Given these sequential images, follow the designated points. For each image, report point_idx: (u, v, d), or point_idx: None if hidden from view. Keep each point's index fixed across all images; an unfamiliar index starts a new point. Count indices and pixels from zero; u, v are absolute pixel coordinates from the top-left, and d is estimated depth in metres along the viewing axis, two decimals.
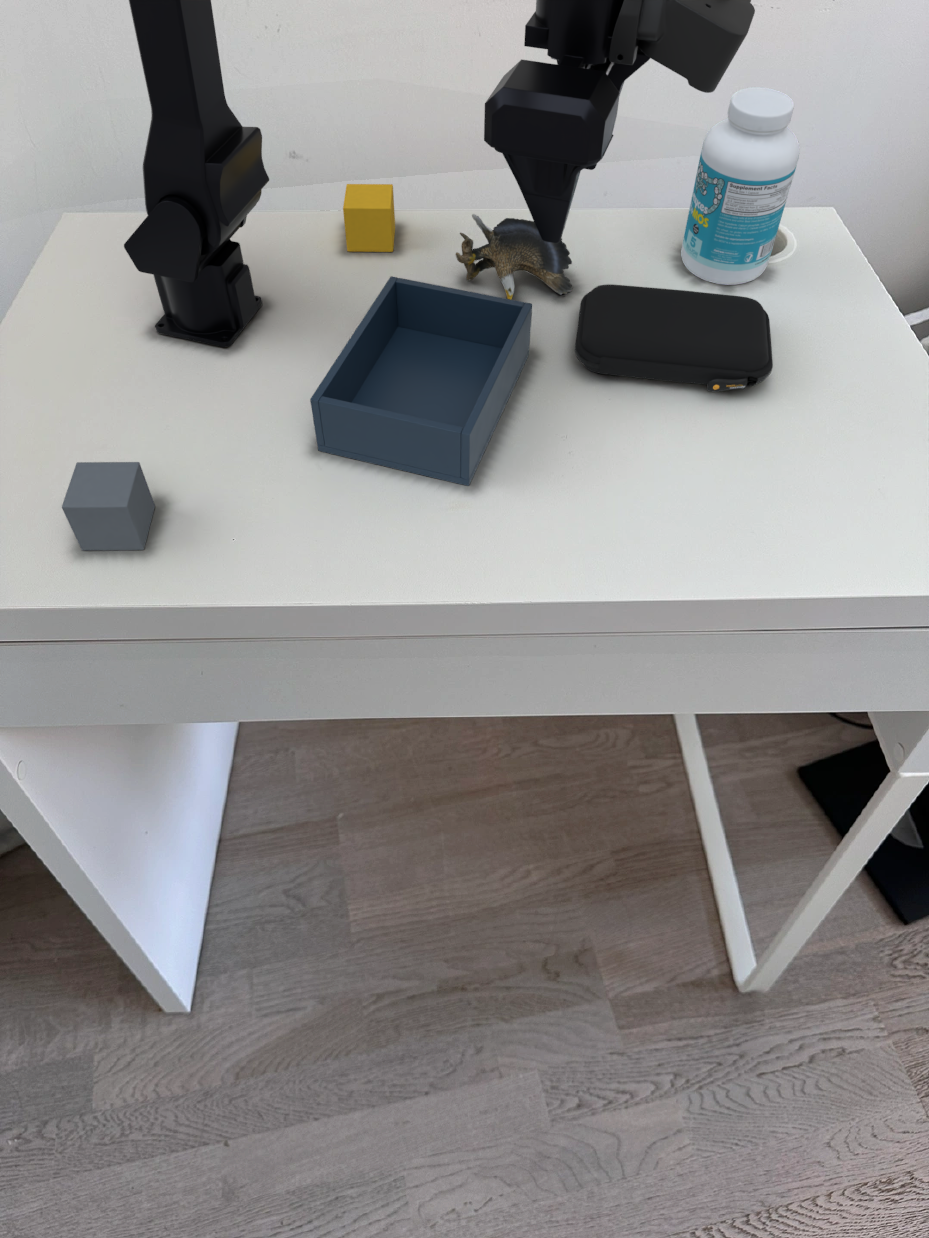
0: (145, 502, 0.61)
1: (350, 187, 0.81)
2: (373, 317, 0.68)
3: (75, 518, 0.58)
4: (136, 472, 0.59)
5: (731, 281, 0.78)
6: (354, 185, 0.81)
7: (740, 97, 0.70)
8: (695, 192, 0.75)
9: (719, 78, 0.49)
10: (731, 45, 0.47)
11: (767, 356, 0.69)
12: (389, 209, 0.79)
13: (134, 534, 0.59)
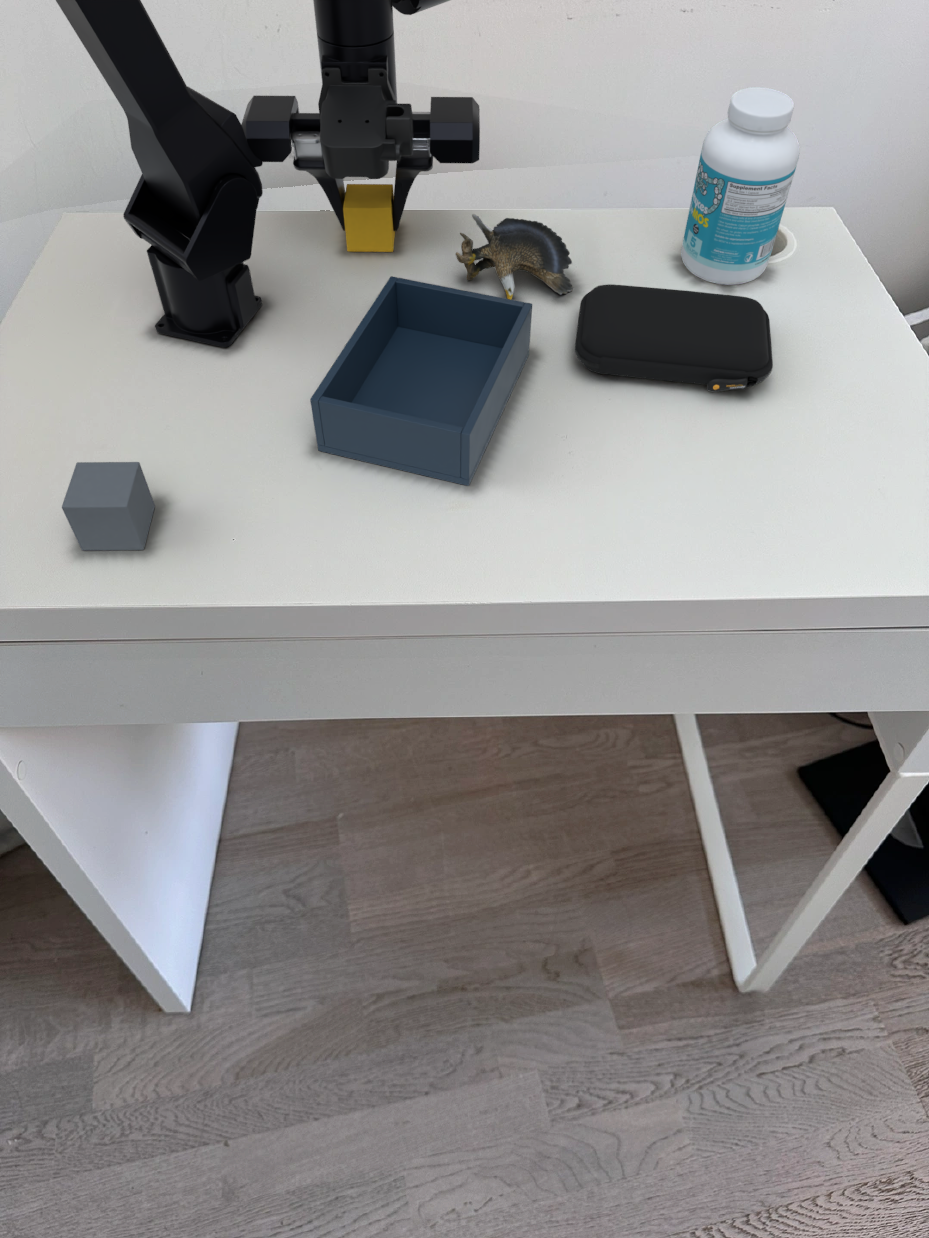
0: (145, 502, 0.61)
1: (350, 187, 0.81)
2: (373, 317, 0.68)
3: (75, 518, 0.58)
4: (136, 472, 0.59)
5: (731, 281, 0.78)
6: (354, 185, 0.81)
7: (740, 97, 0.70)
8: (695, 192, 0.75)
9: (330, 170, 0.70)
10: (322, 148, 0.69)
11: (767, 356, 0.69)
12: (389, 209, 0.79)
13: (134, 534, 0.59)
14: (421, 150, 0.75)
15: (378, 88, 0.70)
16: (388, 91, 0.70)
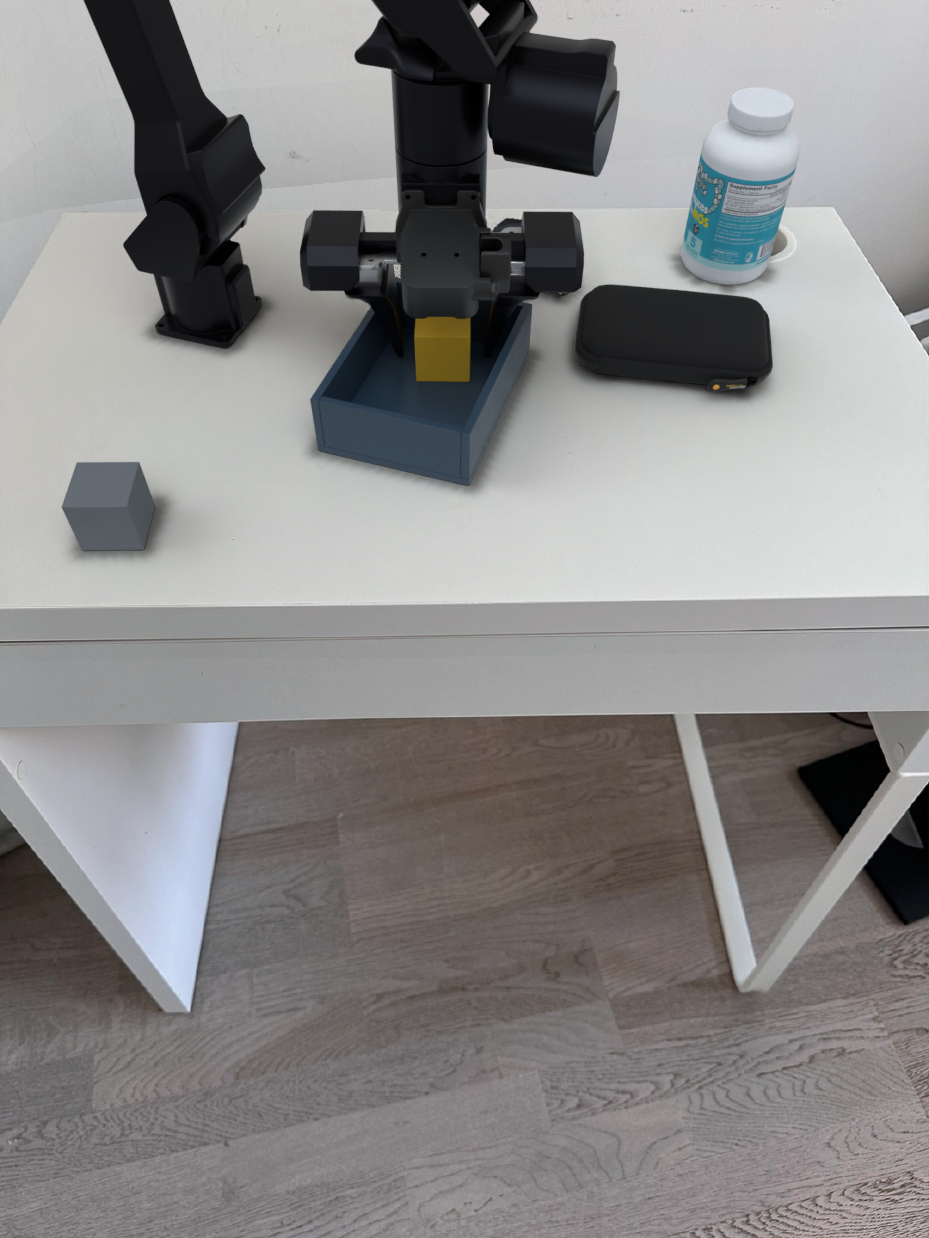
0: (145, 502, 0.61)
1: None
2: (373, 317, 0.68)
3: (75, 518, 0.58)
4: (136, 472, 0.59)
5: (731, 281, 0.78)
6: None
7: (740, 97, 0.70)
8: (695, 192, 0.75)
9: (411, 309, 0.58)
10: (403, 287, 0.57)
11: (767, 356, 0.69)
12: (469, 338, 0.67)
13: (134, 534, 0.59)
14: None
15: (468, 213, 0.58)
16: (480, 215, 0.58)
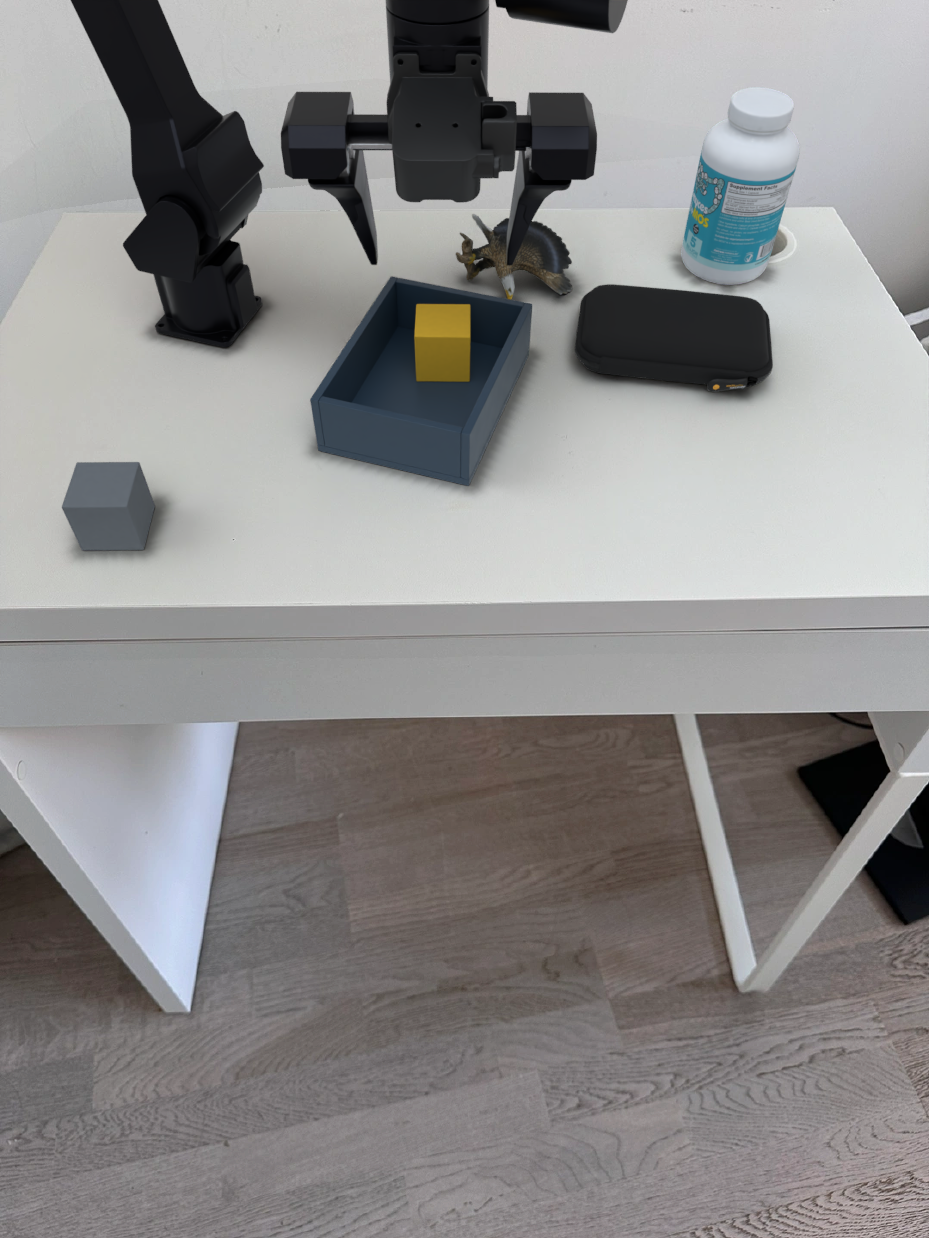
0: (145, 502, 0.61)
1: (421, 308, 0.69)
2: (373, 317, 0.68)
3: (75, 518, 0.58)
4: (136, 472, 0.59)
5: (731, 281, 0.78)
6: (425, 305, 0.69)
7: (740, 97, 0.70)
8: (695, 192, 0.75)
9: (404, 190, 0.52)
10: (395, 161, 0.51)
11: (767, 356, 0.69)
12: (469, 338, 0.67)
13: (134, 534, 0.59)
14: None
15: (468, 81, 0.52)
16: (481, 84, 0.52)
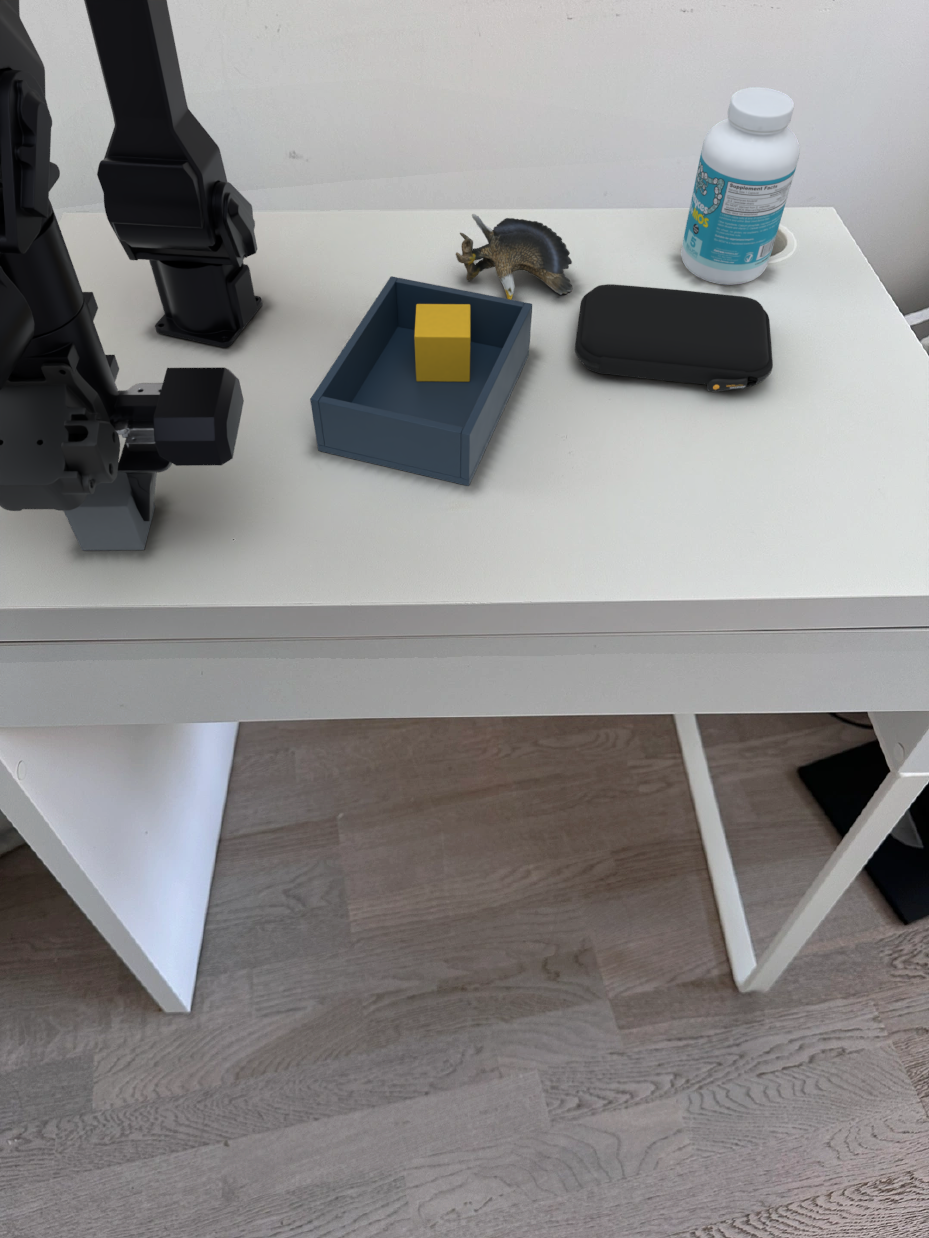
0: None
1: (421, 308, 0.69)
2: (373, 317, 0.68)
3: (75, 518, 0.58)
4: None
5: (731, 281, 0.78)
6: (425, 305, 0.69)
7: (740, 97, 0.70)
8: (695, 192, 0.75)
9: None
10: None
11: (767, 356, 0.69)
12: (469, 338, 0.67)
13: (134, 534, 0.59)
14: (153, 443, 0.54)
15: (60, 389, 0.48)
16: (78, 390, 0.49)
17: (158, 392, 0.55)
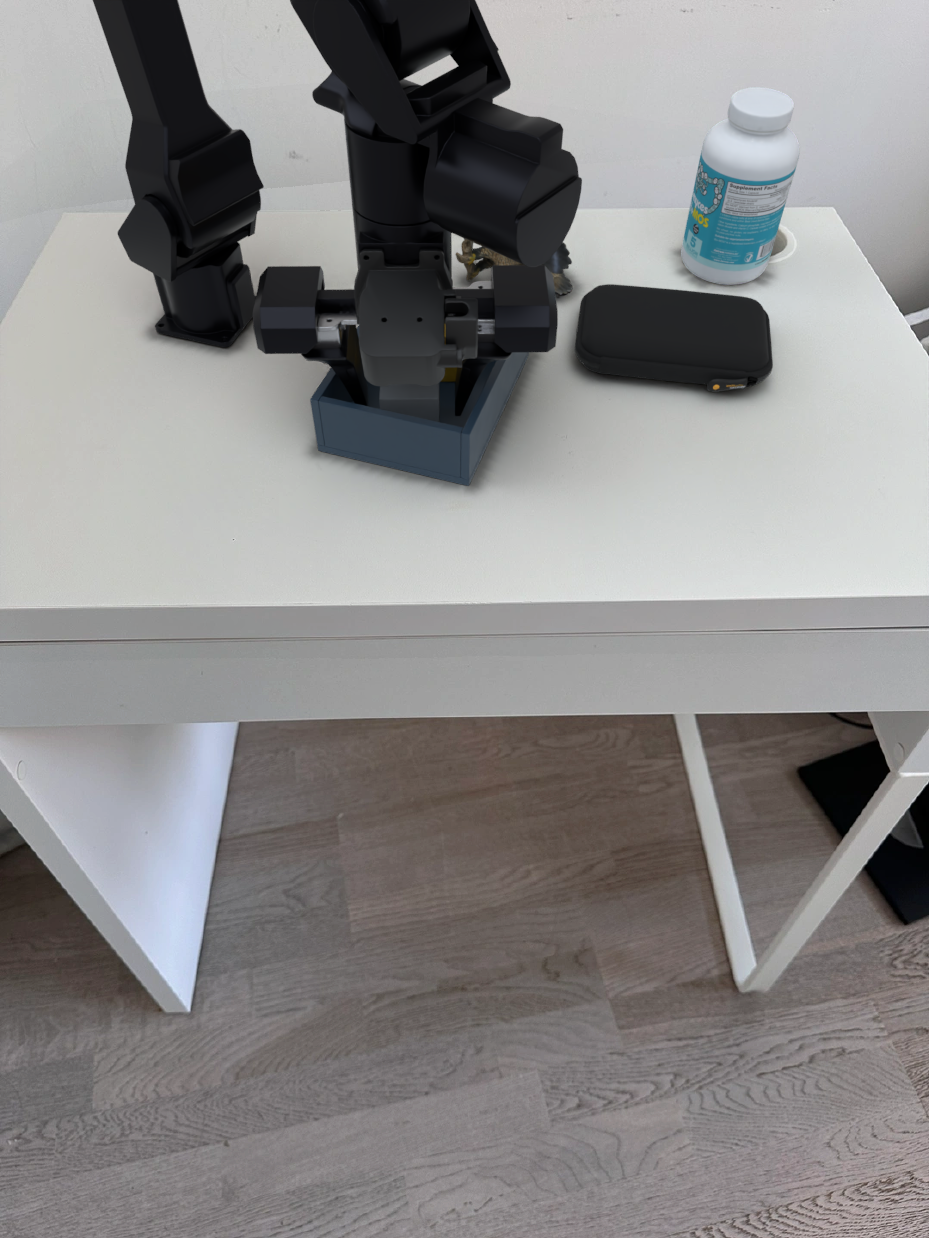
0: (439, 400, 0.66)
1: None
2: None
3: (388, 410, 0.63)
4: None
5: (731, 281, 0.78)
6: None
7: (740, 97, 0.70)
8: (695, 192, 0.75)
9: (372, 377, 0.54)
10: (362, 355, 0.53)
11: (767, 356, 0.69)
12: None
13: None
14: None
15: (431, 273, 0.54)
16: (444, 275, 0.54)
17: None
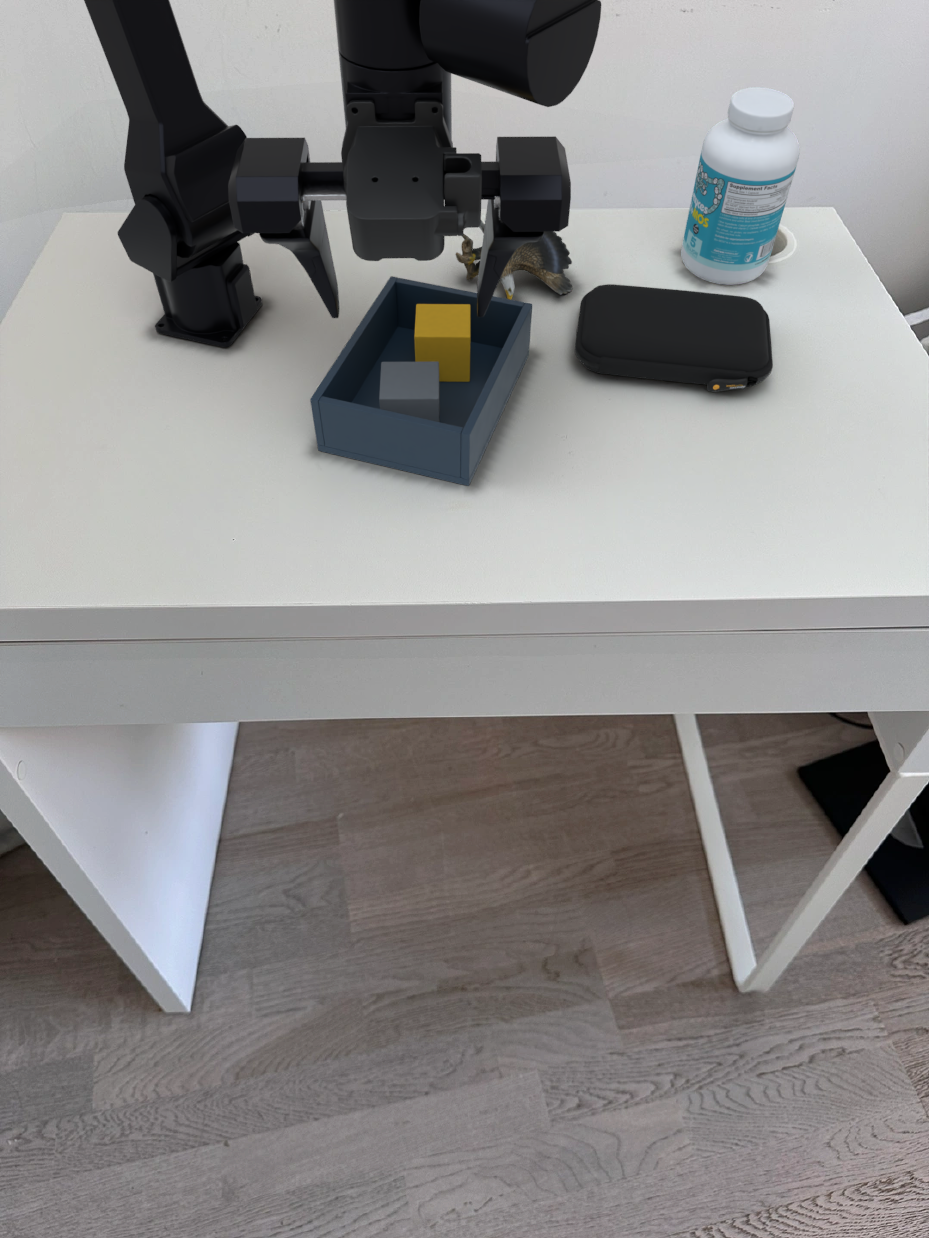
0: (439, 400, 0.66)
1: (421, 308, 0.69)
2: (373, 317, 0.68)
3: (388, 410, 0.63)
4: (438, 370, 0.65)
5: (731, 281, 0.78)
6: (425, 305, 0.69)
7: (740, 97, 0.70)
8: (695, 192, 0.75)
9: (361, 249, 0.48)
10: (350, 219, 0.46)
11: (767, 356, 0.69)
12: (469, 338, 0.67)
13: None
14: None
15: (429, 130, 0.47)
16: (444, 133, 0.48)
17: None
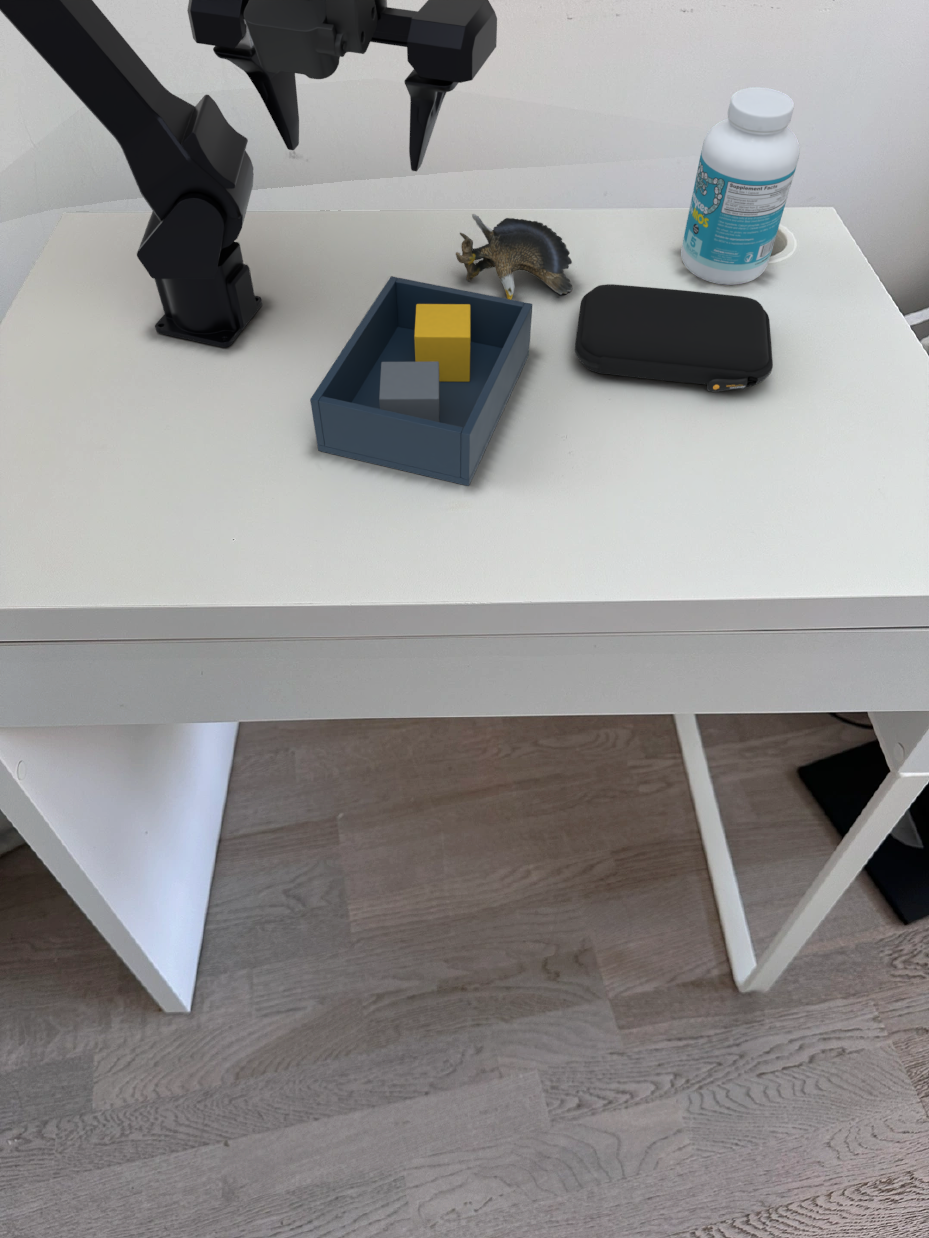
0: (439, 400, 0.66)
1: (421, 308, 0.69)
2: (373, 317, 0.68)
3: (388, 410, 0.63)
4: (438, 370, 0.65)
5: (731, 281, 0.78)
6: (425, 305, 0.69)
7: (740, 97, 0.70)
8: (695, 192, 0.75)
9: (260, 58, 0.54)
10: (247, 25, 0.53)
11: (767, 356, 0.69)
12: (469, 338, 0.67)
13: None
14: None
15: None
16: None
17: None
